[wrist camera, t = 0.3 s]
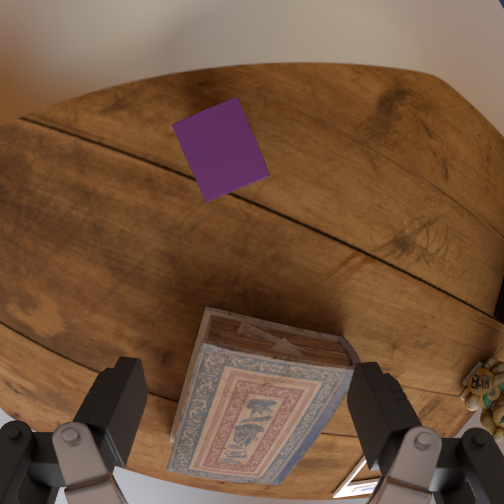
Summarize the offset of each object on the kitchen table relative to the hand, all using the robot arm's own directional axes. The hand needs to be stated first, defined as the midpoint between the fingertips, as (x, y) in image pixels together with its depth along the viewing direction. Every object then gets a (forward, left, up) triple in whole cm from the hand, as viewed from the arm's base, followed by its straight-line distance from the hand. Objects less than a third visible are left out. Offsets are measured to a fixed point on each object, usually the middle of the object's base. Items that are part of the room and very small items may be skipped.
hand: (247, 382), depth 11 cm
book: (+21, 0, -21) cm, 29 cm away
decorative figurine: (+26, +39, -21) cm, 51 cm away
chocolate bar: (-8, -1, -20) cm, 22 cm away
